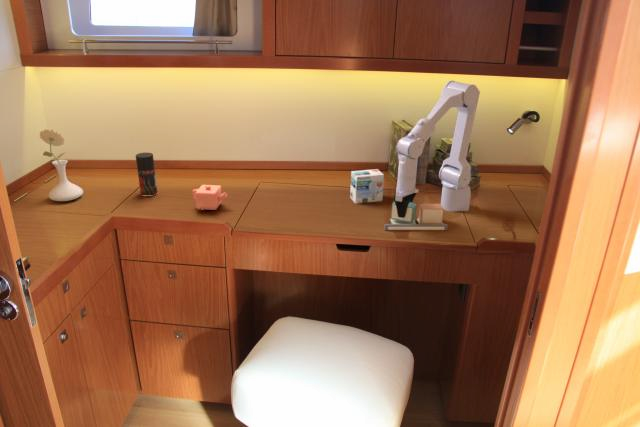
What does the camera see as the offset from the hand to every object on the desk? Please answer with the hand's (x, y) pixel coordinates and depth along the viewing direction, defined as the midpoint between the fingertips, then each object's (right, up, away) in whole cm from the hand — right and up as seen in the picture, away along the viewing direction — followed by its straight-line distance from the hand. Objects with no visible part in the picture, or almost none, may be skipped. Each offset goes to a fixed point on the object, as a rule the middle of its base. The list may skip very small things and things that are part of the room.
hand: (403, 214), depth 169 cm
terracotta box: (+9, -2, +1) cm, 9 cm away
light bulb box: (-11, +5, +19) cm, 23 cm away
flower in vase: (-120, +6, +18) cm, 121 cm away
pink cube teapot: (-65, +2, +11) cm, 66 cm away
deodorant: (-91, +7, +22) cm, 94 cm away
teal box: (0, -2, +1) cm, 2 cm away
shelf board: (+3, -2, +3) cm, 5 cm away
